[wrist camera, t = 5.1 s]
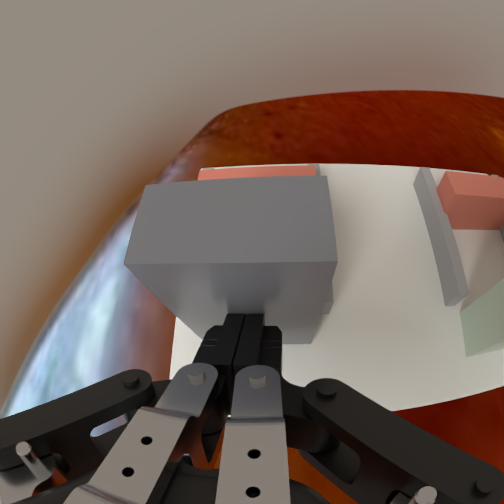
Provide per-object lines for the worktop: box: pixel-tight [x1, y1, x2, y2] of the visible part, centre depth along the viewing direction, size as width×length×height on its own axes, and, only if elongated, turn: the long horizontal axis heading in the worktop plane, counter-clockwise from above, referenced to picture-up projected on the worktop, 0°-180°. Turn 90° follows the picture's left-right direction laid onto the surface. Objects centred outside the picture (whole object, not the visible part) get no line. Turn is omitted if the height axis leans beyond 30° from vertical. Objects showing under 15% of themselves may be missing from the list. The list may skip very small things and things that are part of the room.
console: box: [170, 163, 504, 417], centre depth 17 cm, size 26×18×6 cm
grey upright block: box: [124, 176, 338, 344], centre depth 13 cm, size 6×3×10 cm, turn 88°
